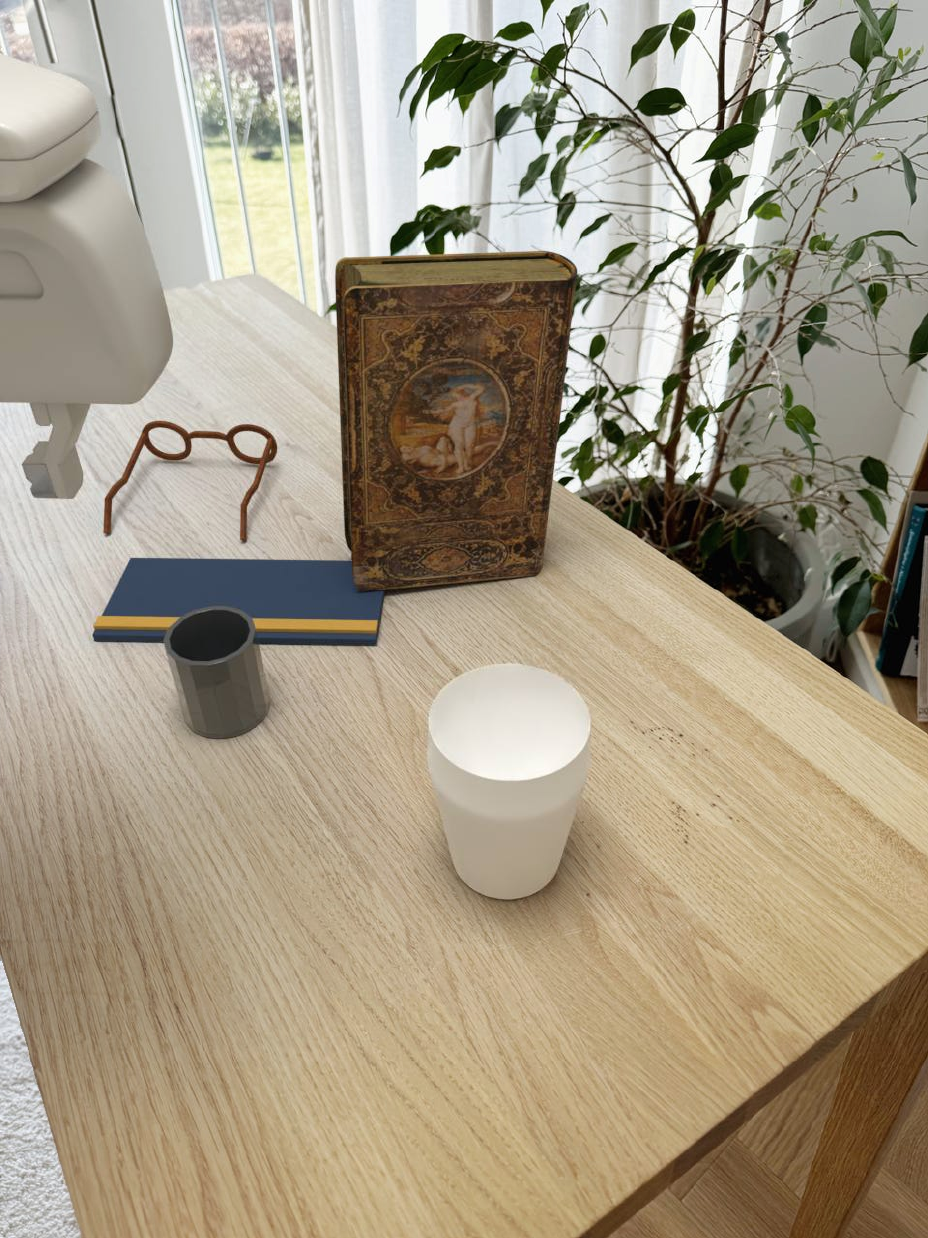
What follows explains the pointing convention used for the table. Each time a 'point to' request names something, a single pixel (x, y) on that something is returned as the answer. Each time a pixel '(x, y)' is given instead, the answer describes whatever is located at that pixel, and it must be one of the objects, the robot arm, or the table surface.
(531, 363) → the book
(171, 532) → the table surface
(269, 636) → the towel
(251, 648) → the grey tumbler
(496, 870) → the cup
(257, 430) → the glasses
